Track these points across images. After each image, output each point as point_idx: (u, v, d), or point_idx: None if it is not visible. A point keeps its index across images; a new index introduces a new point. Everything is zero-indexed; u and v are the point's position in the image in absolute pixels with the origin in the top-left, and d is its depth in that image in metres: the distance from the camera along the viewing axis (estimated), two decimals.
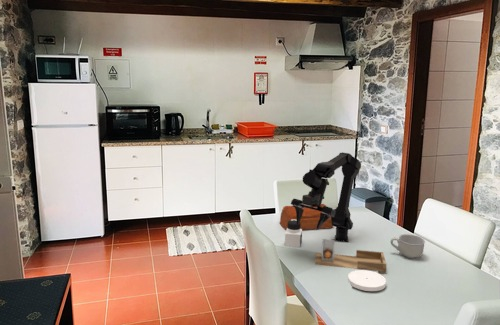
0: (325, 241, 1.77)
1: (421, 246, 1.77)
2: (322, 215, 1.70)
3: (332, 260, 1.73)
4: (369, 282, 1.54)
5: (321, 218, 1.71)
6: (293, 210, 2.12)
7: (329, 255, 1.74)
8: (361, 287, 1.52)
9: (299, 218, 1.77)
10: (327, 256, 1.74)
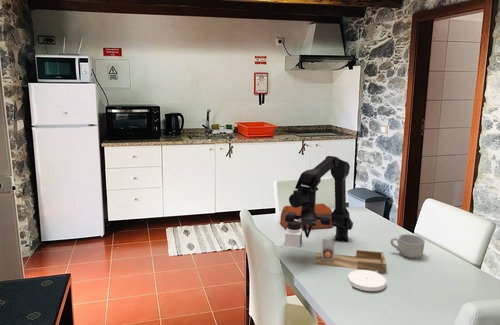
0: (325, 241, 1.77)
1: (421, 246, 1.77)
2: (311, 225, 1.72)
3: (332, 260, 1.73)
4: (369, 281, 1.54)
5: (310, 227, 1.73)
6: (293, 210, 2.12)
7: (329, 255, 1.74)
8: (361, 287, 1.52)
9: None
10: (327, 256, 1.74)
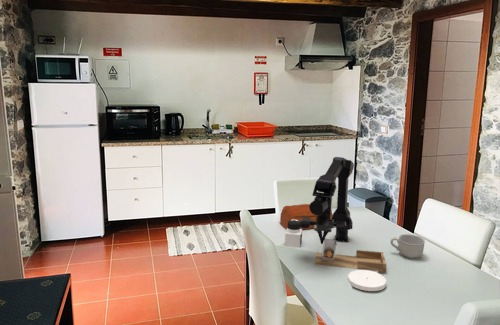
0: (327, 240, 1.76)
1: (421, 246, 1.77)
2: (326, 232, 1.71)
3: (332, 260, 1.73)
4: (369, 281, 1.55)
5: (325, 234, 1.72)
6: (294, 210, 2.12)
7: (331, 255, 1.74)
8: (361, 287, 1.52)
9: None
10: (328, 255, 1.74)
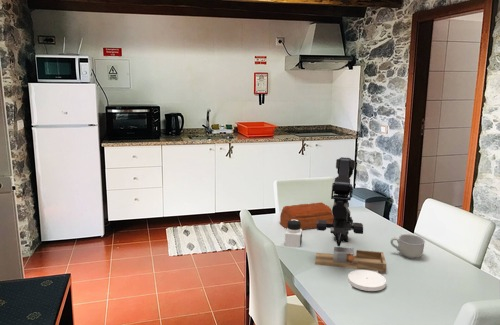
0: None
1: (421, 246, 1.77)
2: (343, 234, 1.70)
3: (335, 261, 1.73)
4: (369, 281, 1.55)
5: (342, 236, 1.71)
6: (295, 210, 2.12)
7: (350, 256, 1.72)
8: (361, 287, 1.52)
9: None
10: (350, 258, 1.72)
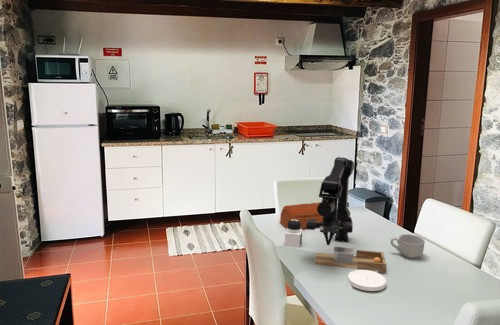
0: None
1: (421, 246, 1.77)
2: (333, 233, 1.71)
3: (335, 261, 1.73)
4: (369, 281, 1.55)
5: (331, 235, 1.72)
6: (294, 209, 2.13)
7: (379, 261, 1.70)
8: (361, 287, 1.52)
9: None
10: (377, 262, 1.70)
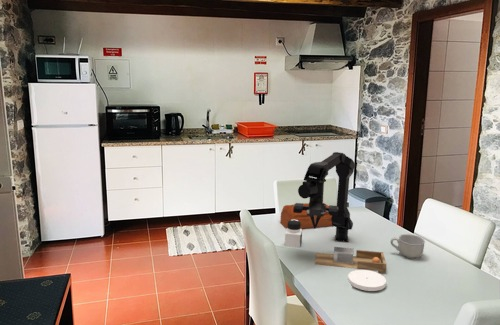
0: None
1: (421, 246, 1.77)
2: (319, 216, 1.75)
3: (335, 261, 1.73)
4: (369, 281, 1.55)
5: (318, 218, 1.76)
6: None
7: (377, 260, 1.70)
8: (361, 287, 1.52)
9: (314, 222, 1.78)
10: (376, 262, 1.70)
